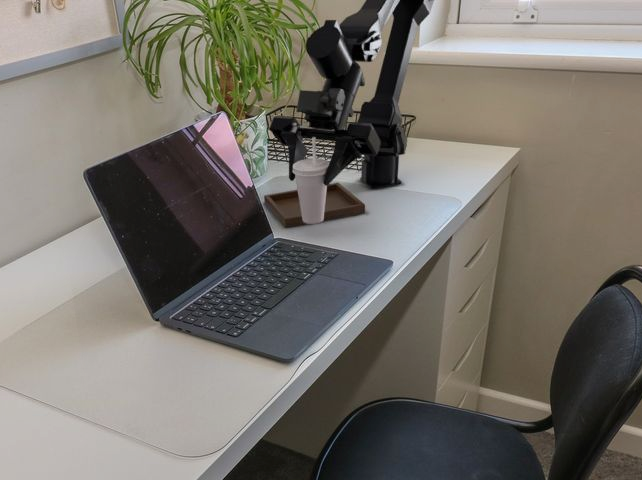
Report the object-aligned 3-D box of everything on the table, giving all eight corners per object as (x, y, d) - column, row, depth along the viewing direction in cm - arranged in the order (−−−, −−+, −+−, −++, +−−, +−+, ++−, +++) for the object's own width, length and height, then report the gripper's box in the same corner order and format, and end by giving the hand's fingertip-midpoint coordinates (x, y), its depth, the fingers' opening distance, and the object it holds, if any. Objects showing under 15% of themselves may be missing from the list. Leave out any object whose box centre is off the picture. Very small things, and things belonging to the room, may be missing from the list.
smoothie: (332, 225, 118) (331, 141, 110) (295, 228, 118) (291, 145, 110) (329, 211, 123) (328, 130, 115) (294, 213, 124) (290, 133, 115)
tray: (338, 190, 139) (338, 182, 138) (365, 213, 128) (365, 204, 127) (264, 203, 136) (263, 195, 135) (285, 227, 126) (285, 219, 125)
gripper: (271, 64, 114) (239, 152, 113) (374, 69, 105) (341, 164, 104) (297, 102, 123) (268, 183, 123) (394, 109, 114) (363, 197, 114)
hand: (307, 182), depth 116 cm, fingers closed on smoothie, 6 cm apart
